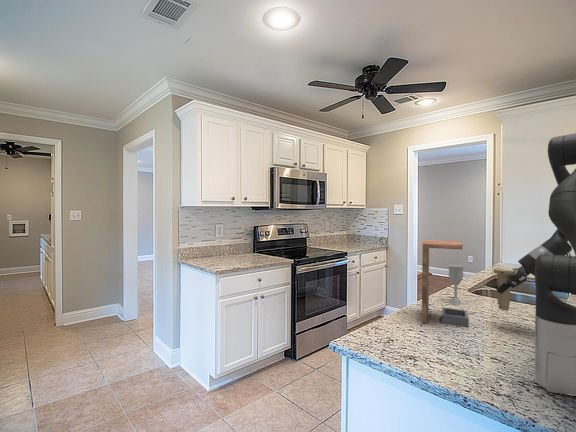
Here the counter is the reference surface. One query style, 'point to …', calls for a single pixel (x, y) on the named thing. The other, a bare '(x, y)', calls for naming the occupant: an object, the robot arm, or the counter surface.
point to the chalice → (455, 280)
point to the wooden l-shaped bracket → (425, 269)
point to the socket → (455, 317)
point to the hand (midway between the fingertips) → (497, 290)
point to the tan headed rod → (505, 296)
